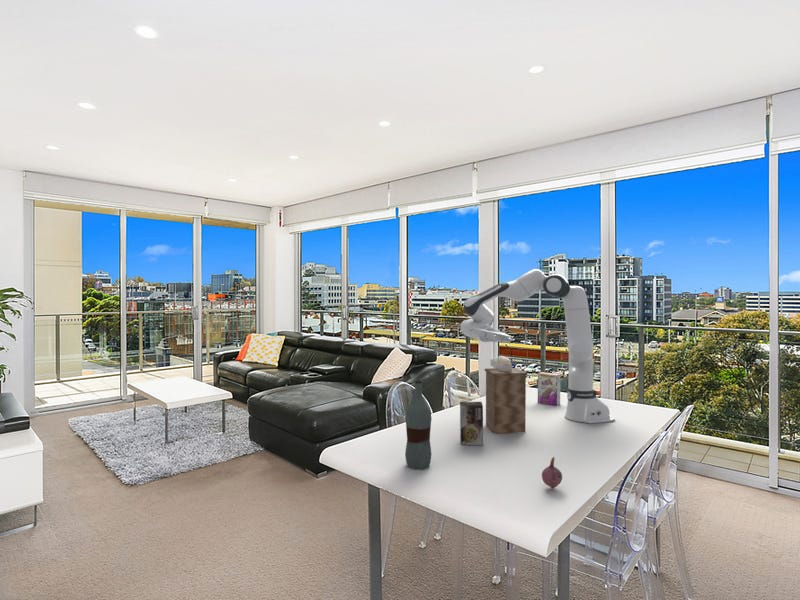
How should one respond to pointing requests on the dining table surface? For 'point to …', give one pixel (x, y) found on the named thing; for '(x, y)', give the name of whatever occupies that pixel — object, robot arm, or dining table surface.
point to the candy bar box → (549, 388)
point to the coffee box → (471, 423)
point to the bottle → (418, 431)
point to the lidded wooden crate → (505, 400)
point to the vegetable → (552, 475)
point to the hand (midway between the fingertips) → (502, 338)
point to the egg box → (502, 364)
